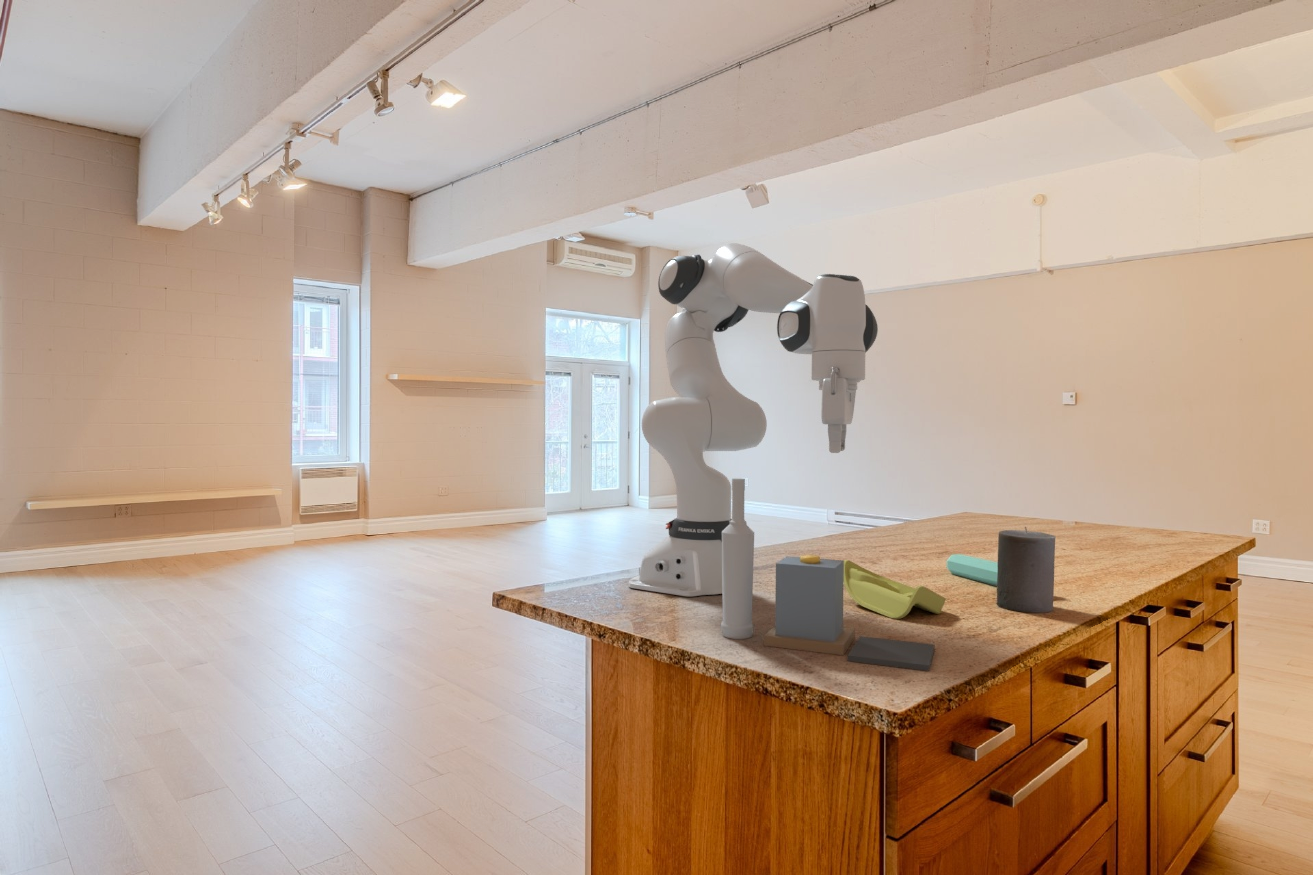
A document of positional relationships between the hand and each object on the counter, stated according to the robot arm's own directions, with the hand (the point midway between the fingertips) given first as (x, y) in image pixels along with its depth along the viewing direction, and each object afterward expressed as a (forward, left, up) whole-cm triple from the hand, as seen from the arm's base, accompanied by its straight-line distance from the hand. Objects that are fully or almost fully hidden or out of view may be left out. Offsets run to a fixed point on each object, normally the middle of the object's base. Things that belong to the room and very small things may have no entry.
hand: (837, 451), depth 132 cm
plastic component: (+7, +17, -30) cm, 35 cm away
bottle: (-13, -14, -29) cm, 35 cm away
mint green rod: (+24, +48, -30) cm, 61 cm away
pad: (+11, -15, -29) cm, 35 cm away
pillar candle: (+30, +27, -29) cm, 50 cm away
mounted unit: (-1, -13, -29) cm, 32 cm away
